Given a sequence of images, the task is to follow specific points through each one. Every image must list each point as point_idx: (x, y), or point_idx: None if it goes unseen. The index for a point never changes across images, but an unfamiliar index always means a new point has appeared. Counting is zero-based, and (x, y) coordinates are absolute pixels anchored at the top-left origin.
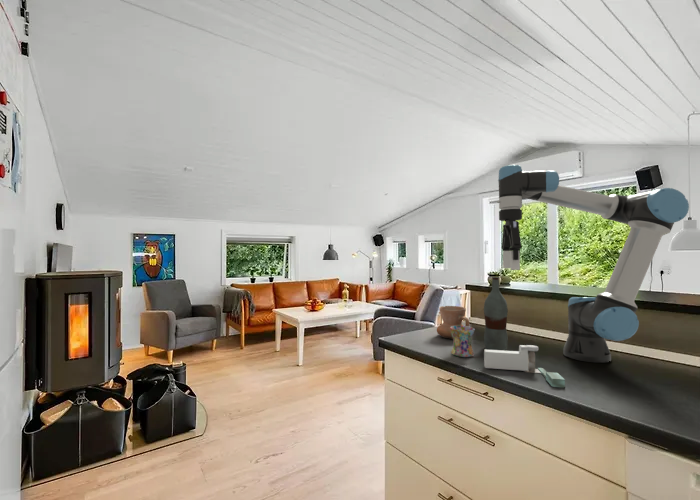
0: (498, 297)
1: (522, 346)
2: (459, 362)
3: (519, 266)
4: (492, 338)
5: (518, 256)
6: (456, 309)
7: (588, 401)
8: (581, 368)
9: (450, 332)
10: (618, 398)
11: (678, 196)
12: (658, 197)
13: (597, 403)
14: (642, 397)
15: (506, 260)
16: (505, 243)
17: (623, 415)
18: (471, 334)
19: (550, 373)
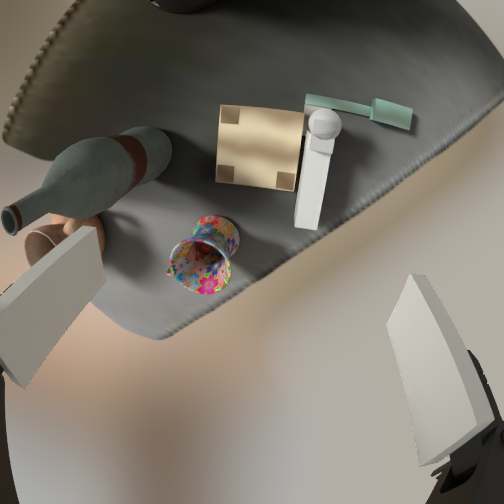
0: (81, 185)
1: (326, 148)
2: (270, 253)
3: (435, 295)
4: (158, 169)
5: (467, 372)
6: (30, 242)
7: (453, 112)
8: (282, 12)
9: (100, 245)
10: (439, 56)
11: None
12: None
13: (458, 104)
14: (428, 19)
15: (64, 301)
16: (4, 462)
17: (485, 102)
18: (220, 245)
19: (381, 115)
